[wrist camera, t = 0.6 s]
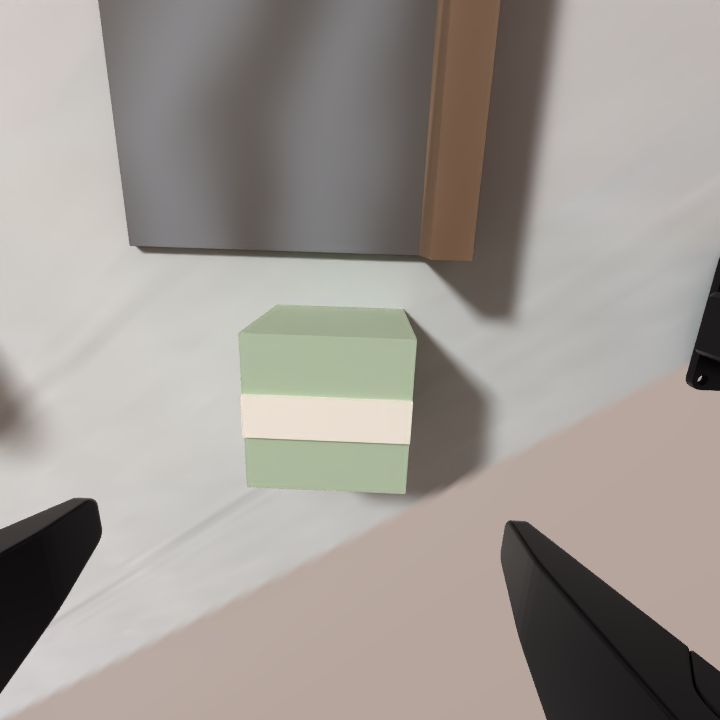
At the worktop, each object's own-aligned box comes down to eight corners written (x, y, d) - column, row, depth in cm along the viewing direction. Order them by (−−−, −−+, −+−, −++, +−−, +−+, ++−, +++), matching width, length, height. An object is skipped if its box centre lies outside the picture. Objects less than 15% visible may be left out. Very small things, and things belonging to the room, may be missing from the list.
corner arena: (491, -171, 14) (535, -321, 10) (451, 256, 18) (472, 261, 15) (81, -178, 14) (-23, -327, 11) (134, 245, 19) (73, 248, 15)
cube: (403, 308, 19) (417, 340, 13) (396, 423, 21) (405, 497, 15) (277, 304, 19) (236, 334, 13) (281, 419, 21) (245, 490, 15)
